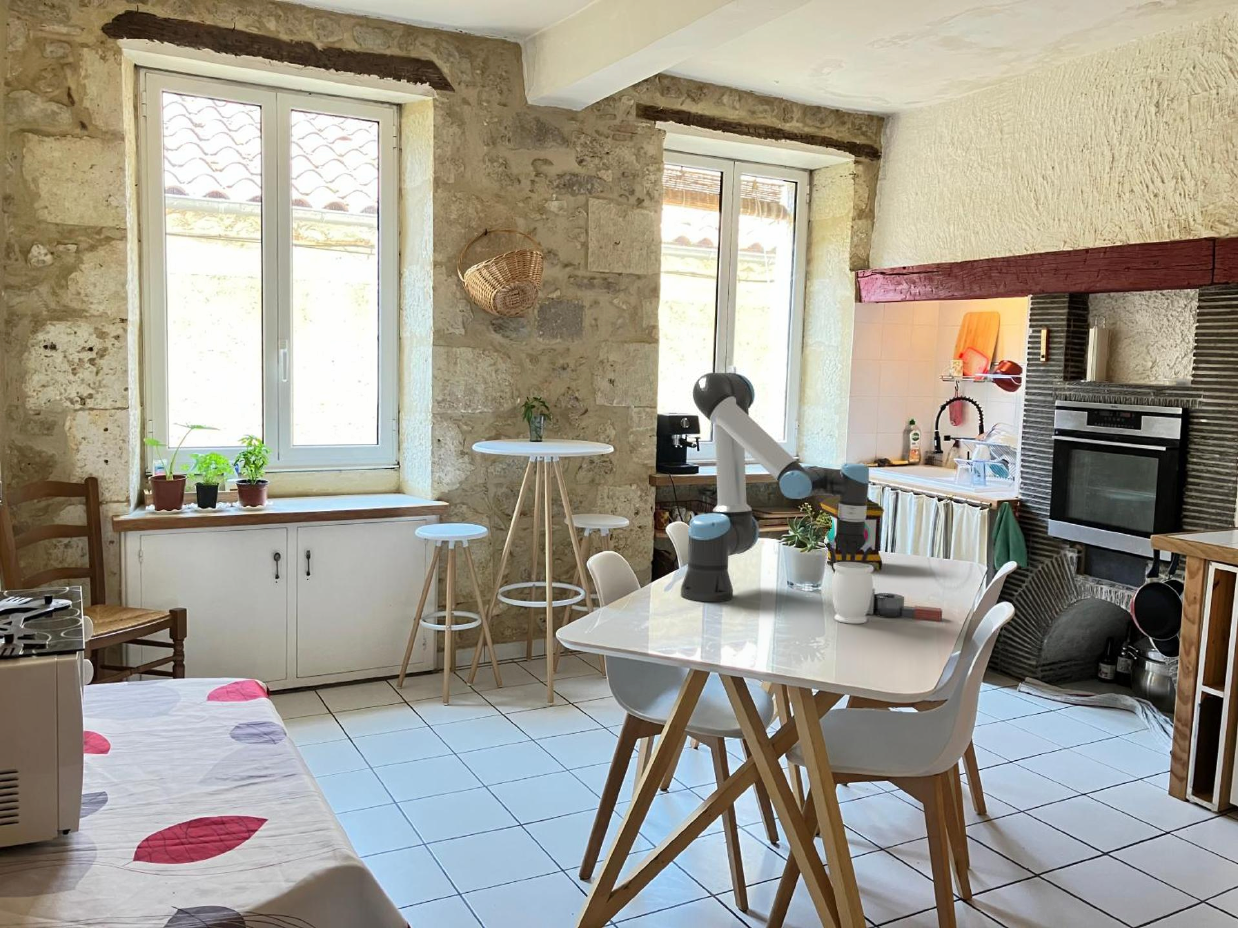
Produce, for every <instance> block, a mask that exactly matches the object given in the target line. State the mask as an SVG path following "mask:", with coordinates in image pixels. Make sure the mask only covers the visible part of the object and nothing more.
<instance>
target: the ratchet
mask: <svg viewBox="0 0 1238 928" xmlns="http://www.w3.org/2000/svg"><path fill="white" fill-rule="evenodd" d="M873 608H874V609H873V615H875V616H878V617H881V618H887V619H898V618H907V619H908V618H909V619H917V620H927V621H936V622H942V621H943V609H942V607H932V606H921V605H914V606H911V605H910V606H909V605H905V596H903V595H901V594H897V593H891V592H880V593H875V595H874V603H873Z"/></svg>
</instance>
